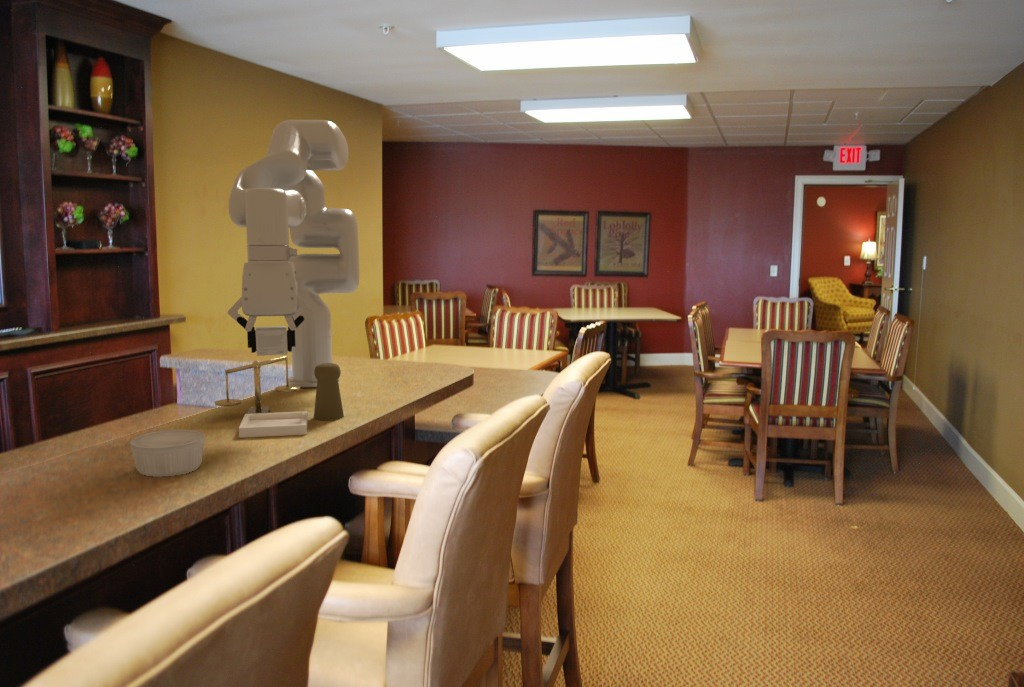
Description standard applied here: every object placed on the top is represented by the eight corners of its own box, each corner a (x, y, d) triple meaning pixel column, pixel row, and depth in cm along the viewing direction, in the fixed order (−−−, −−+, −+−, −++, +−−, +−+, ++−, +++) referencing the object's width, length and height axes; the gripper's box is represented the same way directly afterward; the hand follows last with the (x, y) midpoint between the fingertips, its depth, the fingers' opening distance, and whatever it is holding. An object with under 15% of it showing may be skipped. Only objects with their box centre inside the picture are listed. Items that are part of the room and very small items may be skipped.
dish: (245, 422, 167) (245, 413, 167) (308, 420, 169) (307, 411, 169) (239, 437, 155) (238, 428, 155) (306, 434, 158) (306, 425, 157)
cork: (336, 421, 168) (335, 366, 167) (308, 419, 170) (306, 365, 168) (348, 414, 174) (347, 361, 173) (321, 413, 176) (319, 360, 174)
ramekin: (140, 484, 128) (138, 450, 127) (124, 467, 137) (122, 435, 136) (215, 472, 134) (214, 439, 133) (195, 456, 143) (193, 426, 142)
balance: (217, 414, 174) (214, 355, 172) (301, 410, 178) (299, 353, 176) (213, 420, 168) (210, 360, 167) (300, 417, 172) (298, 357, 170)
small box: (256, 351, 162) (255, 326, 161) (287, 350, 163) (287, 325, 163) (255, 356, 157) (254, 329, 156) (287, 355, 158) (287, 329, 157)
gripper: (316, 254, 163) (319, 347, 165) (222, 254, 159) (226, 349, 162) (315, 255, 156) (318, 352, 158) (217, 256, 152) (221, 355, 155)
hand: (272, 350), depth 160 cm, fingers closed on small box, 5 cm apart
